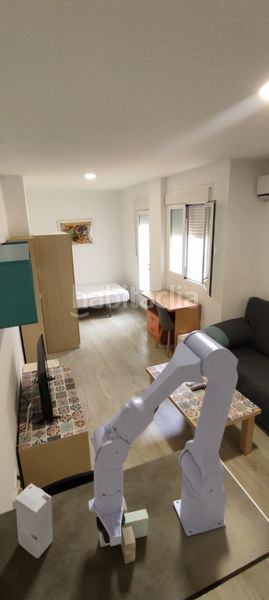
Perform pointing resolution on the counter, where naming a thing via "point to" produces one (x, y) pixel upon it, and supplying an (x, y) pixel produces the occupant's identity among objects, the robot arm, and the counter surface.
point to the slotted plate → (133, 524)
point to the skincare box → (34, 520)
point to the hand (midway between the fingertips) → (108, 534)
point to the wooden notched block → (128, 541)
